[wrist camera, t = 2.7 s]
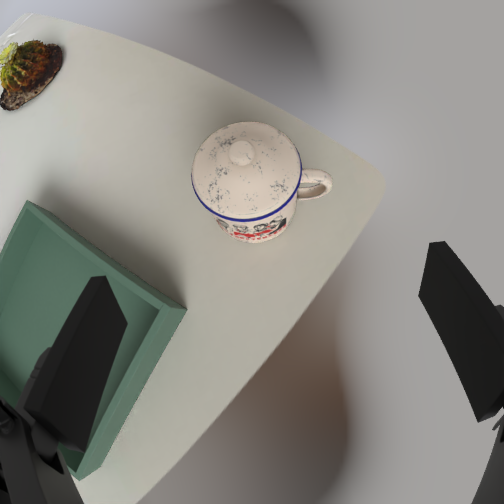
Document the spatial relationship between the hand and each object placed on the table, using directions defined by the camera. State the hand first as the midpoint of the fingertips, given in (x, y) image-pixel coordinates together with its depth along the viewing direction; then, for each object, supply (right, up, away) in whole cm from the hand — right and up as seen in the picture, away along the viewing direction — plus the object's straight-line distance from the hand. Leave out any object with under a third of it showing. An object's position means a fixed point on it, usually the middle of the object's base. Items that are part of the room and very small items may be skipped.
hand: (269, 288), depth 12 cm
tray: (-23, -9, +21) cm, 32 cm away
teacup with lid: (+1, +6, +22) cm, 23 cm away
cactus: (-43, +35, +32) cm, 64 cm away
